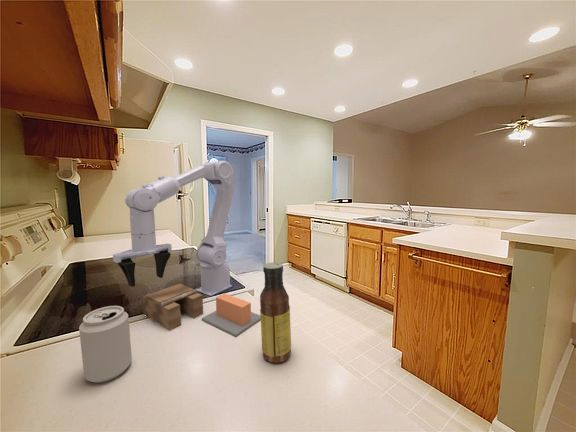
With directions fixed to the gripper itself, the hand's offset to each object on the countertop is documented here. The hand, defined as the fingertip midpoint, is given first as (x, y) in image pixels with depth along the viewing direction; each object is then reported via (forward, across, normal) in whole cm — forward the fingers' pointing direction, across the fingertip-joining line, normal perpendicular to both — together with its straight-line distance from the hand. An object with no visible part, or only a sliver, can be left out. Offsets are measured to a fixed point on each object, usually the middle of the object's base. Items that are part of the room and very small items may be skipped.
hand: (146, 281), depth 68 cm
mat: (+9, +11, -22) cm, 26 cm away
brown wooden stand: (+9, +3, -7) cm, 12 cm away
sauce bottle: (+10, +6, -40) cm, 42 cm away
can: (+10, -16, -16) cm, 24 cm away
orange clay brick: (+9, +11, -23) cm, 27 cm away
